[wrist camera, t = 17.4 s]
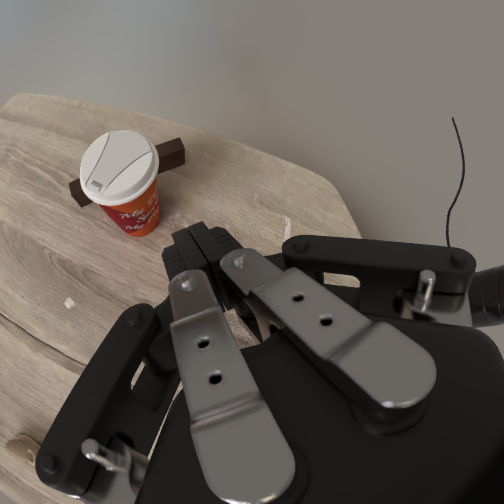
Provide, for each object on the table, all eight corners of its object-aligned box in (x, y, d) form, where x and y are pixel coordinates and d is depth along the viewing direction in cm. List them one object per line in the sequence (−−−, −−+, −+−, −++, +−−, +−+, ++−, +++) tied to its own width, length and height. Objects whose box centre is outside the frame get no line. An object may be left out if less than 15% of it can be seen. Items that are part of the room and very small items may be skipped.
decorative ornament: (10, 431, 21) (-7, 440, 16) (48, 439, 23) (32, 452, 18) (18, 452, 20) (3, 464, 15) (57, 462, 22) (43, 477, 17)
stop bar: (180, 153, 37) (179, 137, 33) (184, 164, 37) (184, 148, 33) (78, 195, 32) (68, 183, 28) (81, 207, 32) (71, 195, 28)
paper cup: (148, 255, 33) (123, 214, 19) (101, 228, 32) (60, 178, 19) (179, 204, 35) (175, 141, 22) (132, 180, 34) (111, 114, 21)
